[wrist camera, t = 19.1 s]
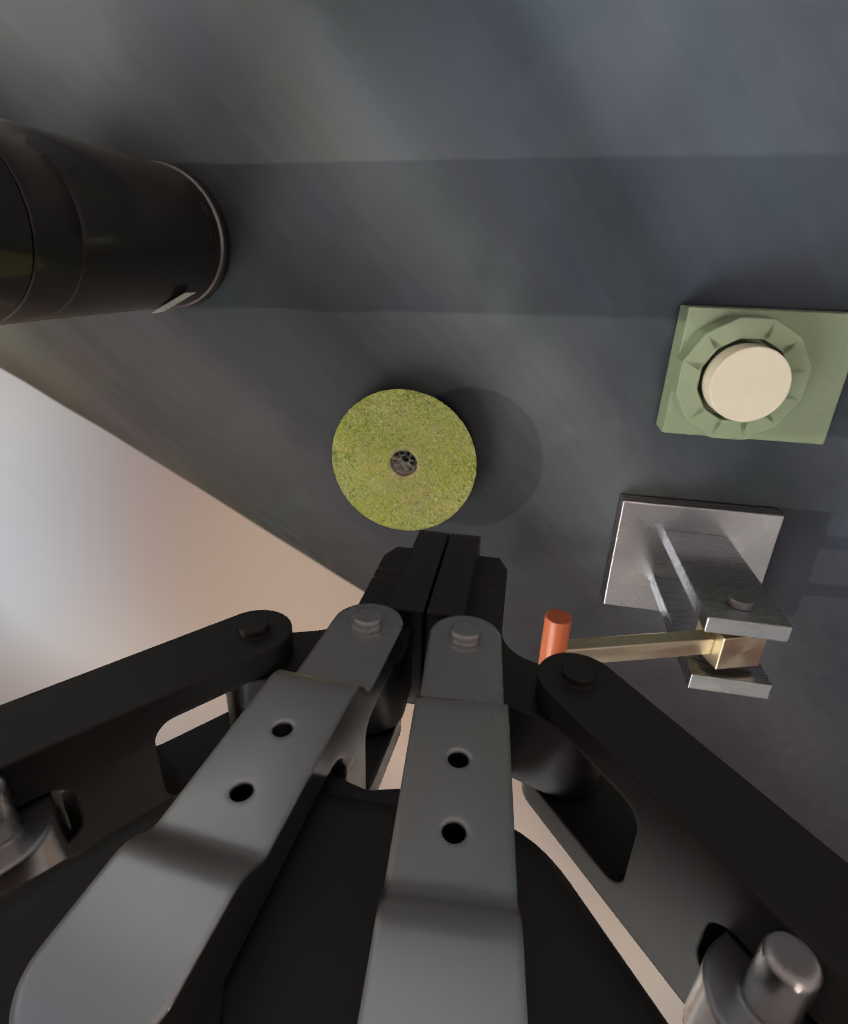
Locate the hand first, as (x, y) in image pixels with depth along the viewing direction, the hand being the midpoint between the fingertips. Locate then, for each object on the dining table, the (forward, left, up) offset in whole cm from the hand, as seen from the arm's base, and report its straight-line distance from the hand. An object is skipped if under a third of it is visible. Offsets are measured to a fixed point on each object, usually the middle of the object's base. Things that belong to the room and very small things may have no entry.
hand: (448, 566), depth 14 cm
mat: (-7, -7, -29) cm, 31 cm away
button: (+14, +1, -25) cm, 29 cm away
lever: (+10, -13, -17) cm, 24 cm away
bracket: (+15, -13, -29) cm, 35 cm away
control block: (+16, +1, -29) cm, 33 cm away
